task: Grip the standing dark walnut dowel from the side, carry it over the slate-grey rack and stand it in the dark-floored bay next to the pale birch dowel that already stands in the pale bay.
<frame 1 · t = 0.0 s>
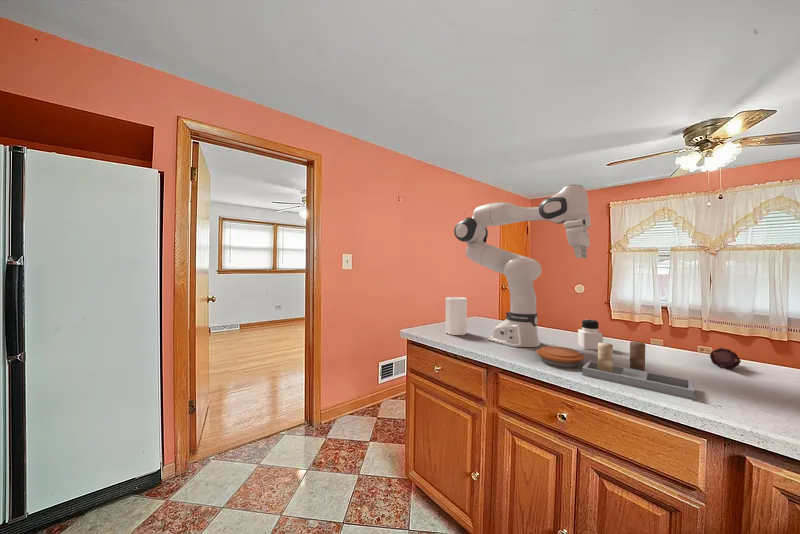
hand: (581, 257, 120), 39 cm above the worktop, tool pointing down, fingers open, 8 cm apart
pie: (559, 363, 110), on the worktop
birch dowel: (605, 374, 97), resting on rack
cup: (456, 333, 156), on the worktop
medicine bottle: (590, 348, 130), on the worktop
walnut dowel: (637, 373, 99), on the worktop
dark brown oval piece: (724, 368, 105), on the worktop
rack: (634, 381, 92), on the worktop
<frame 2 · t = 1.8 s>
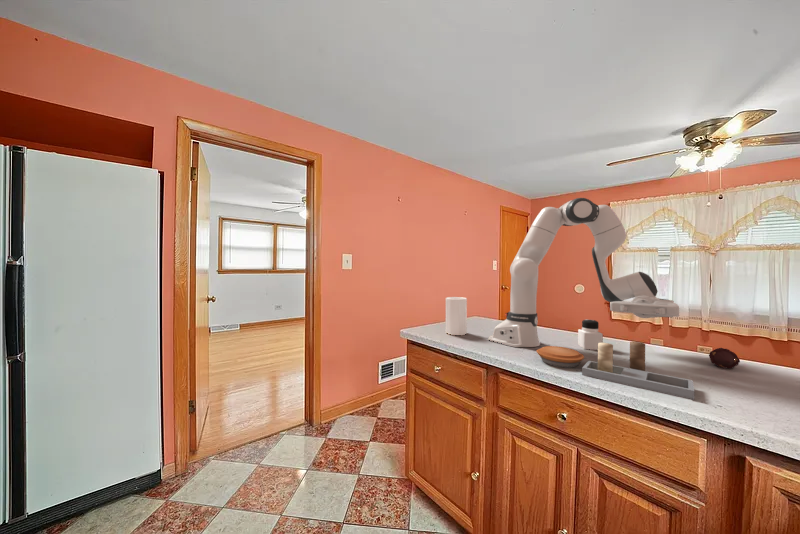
hand: (641, 310, 108), 19 cm above the worktop, tool horizontal, fingers open, 8 cm apart
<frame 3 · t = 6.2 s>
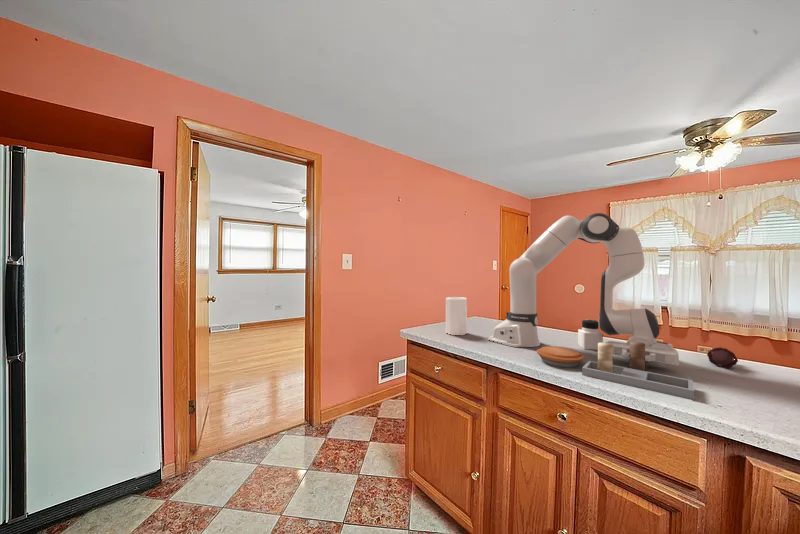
hand: (637, 357, 98), 6 cm above the worktop, tool horizontal, fingers closed on walnut dowel, 4 cm apart
walnut dowel: (637, 373, 99), on the worktop, touching gripper
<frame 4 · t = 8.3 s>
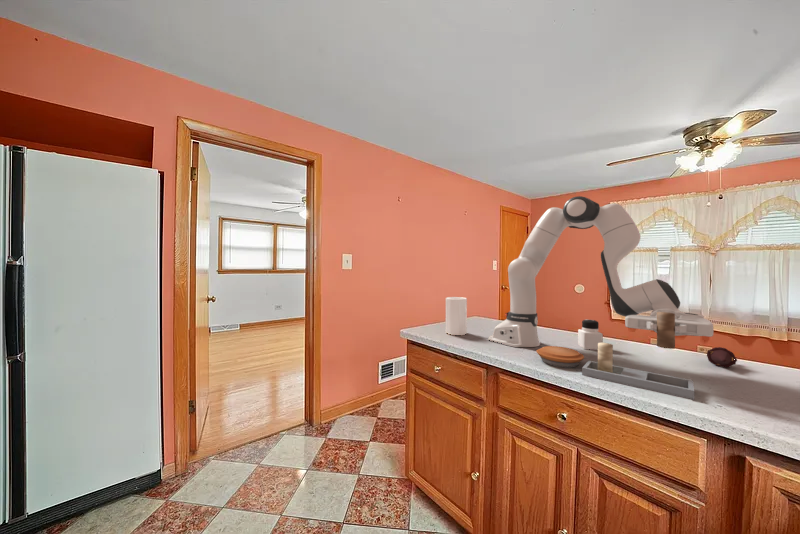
hand: (665, 328, 87), 17 cm above the worktop, tool horizontal, fingers closed on walnut dowel, 4 cm apart
walnut dowel: (665, 346, 88), point 12 cm above the worktop, touching gripper
when the fingers open (7 cm above the worktop, at t = 10.7 s): walnut dowel drops 1 cm, resting on rack.
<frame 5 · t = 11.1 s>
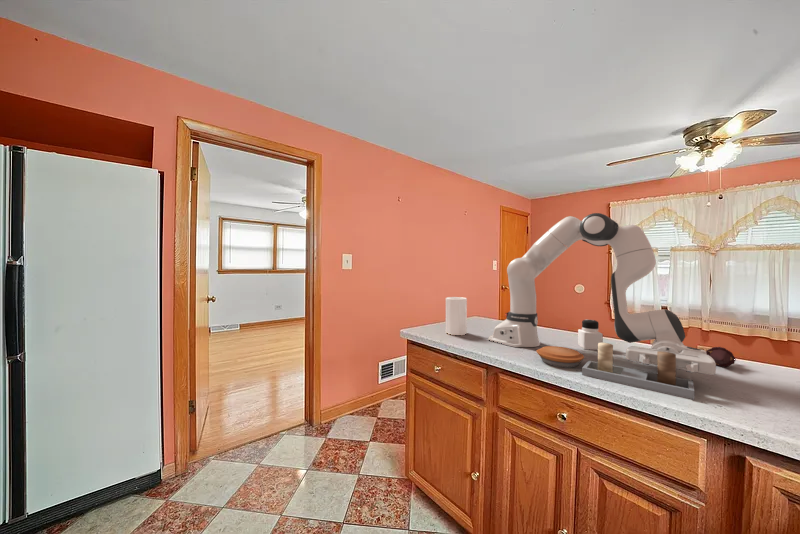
hand: (667, 365, 86), 7 cm above the worktop, tool horizontal, fingers open, 8 cm apart
walnut dowel: (666, 387, 87), resting on rack
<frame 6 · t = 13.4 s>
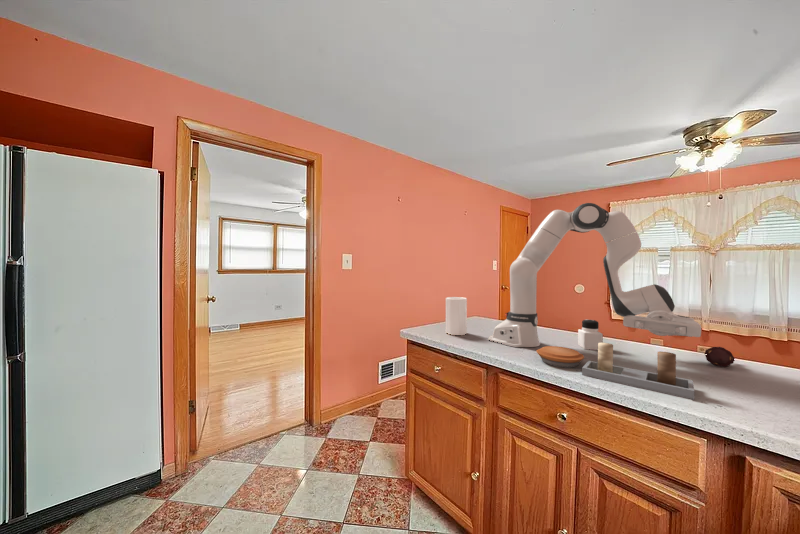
hand: (658, 328, 98), 15 cm above the worktop, tool horizontal, fingers open, 8 cm apart
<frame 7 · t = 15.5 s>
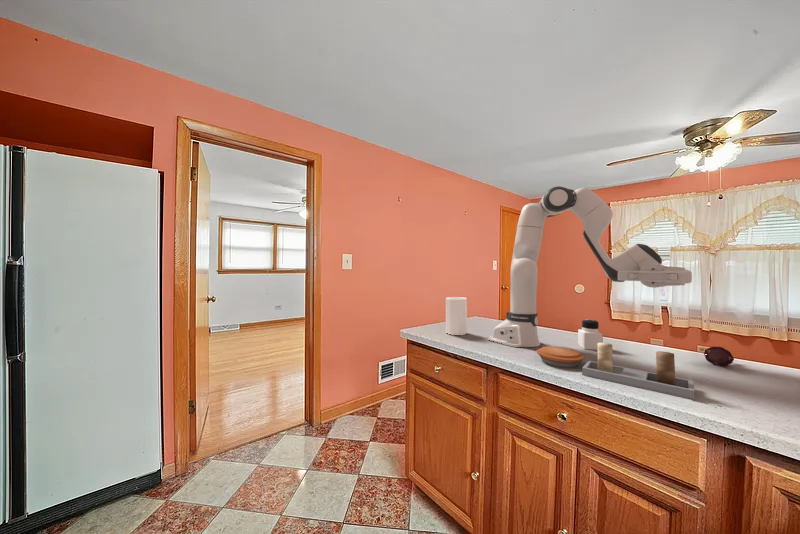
hand: (651, 276, 102), 32 cm above the worktop, tool horizontal, fingers open, 8 cm apart
at the end: walnut dowel inside the target area on the rack (0.1 cm from its centre), point 0.3 cm above the rack's base; walnut dowel tilted 2°; birch dowel moved 0.0 cm from its start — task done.
